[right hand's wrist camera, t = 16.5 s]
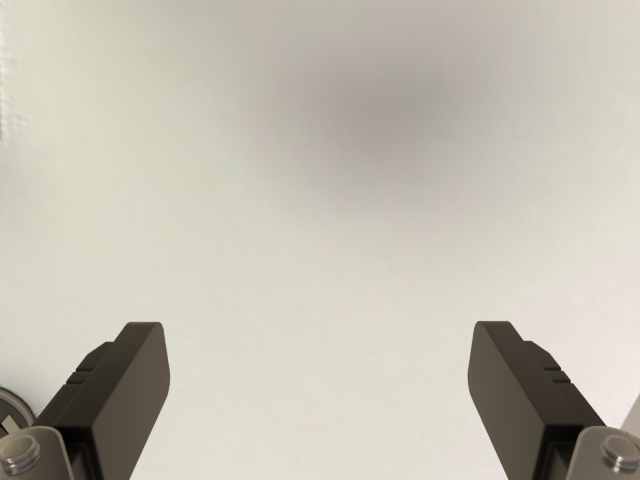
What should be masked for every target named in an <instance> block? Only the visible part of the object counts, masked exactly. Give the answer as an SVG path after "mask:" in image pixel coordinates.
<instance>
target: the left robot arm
mask: <svg viewBox="0 0 640 480" xmlns="http://www.w3.org/2000/svg"><path fill="white" fill-rule="evenodd" d="M33 423H34V418H33V416H32V414H31V412H30V410H29V409H28V408H27V407H26V405H25V404H24V403H23V402H22V401H20V400H19V399H18V398H17V397H15V396H14V395H12V394H11V393H9V392H7V391H5V390H2V389H0V439H1V438H3V437H5V436H6V435H8V434H11V433H13V432H15V431H18V430H21V429H24V428H28V427H31V425H32V424H33Z"/></svg>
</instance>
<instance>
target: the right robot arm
mask: <svg viewBox="0 0 640 480" xmlns="http://www.w3.org/2000/svg"><path fill="white" fill-rule="evenodd" d="M169 385H170V370H169V363H168V357H167V350H166V343H165V336H164V330H163V326H162V324H161V323H160V322H129V323H127V324H126V326H125V327H124V328H123V330H122V331H121V332H120V334H119V335H118V336H117V338H116V339H115V341H114V342H105V343H103V344H102V345H100V346H99V347H98V348H96V349H95V350H93V351H92V352H90V353H89V354H87V356H86V357H85V358H84V360H83V361H82V362H81V363H80V365H79V366H78V367H77V368H76V372H73V373H72V375H71V376H70V377H69V378H68V380H67V381H66V385H63V386H62V387H61V389H60V390H59V391H58V392H57V394H56V395H55V396H54V397H53V399H52V400H51V401H50V403H49V404H48V405H47V406H46V408H45V409H44V410H43V411H42V413H41V414H40V415H39V416H38V418H37V419H36V420H35V421H34V423H33V424H32V425H31V427H28V428H24V429H21V430H18V431H15V432H13V433H11V434H8V435H6V436H5V437H3V438H1V439H0V480H129V479H130V477H131V475H132V472H133V470H134V468H135V466H136V464H137V461H138V459H139V457H140V455H141V453H142V450H143V448H144V446H145V444H146V442H147V439H148V437H149V435H150V433H151V431H152V428H153V426H154V424H155V422H156V420H157V417H158V415H159V413H160V411H161V409H162V407H163V404H164V402H165V400H166V398H167V395H168V391H169ZM468 386H469V391H470V395H471V397H472V400H473V402H474V404H475V406H476V409H477V411H478V413H479V415H480V417H481V420H482V422H483V424H484V426H485V429H486V431H487V433H488V435H489V437H490V440H491V442H492V444H493V446H494V449H495V451H496V453H497V455H498V457H499V460H500V462H501V464H502V466H503V469H504V471H505V473H506V475H507V477H508V480H640V439H639V438H637V437H635V436H634V435H631V434H629V433H627V432H625V431H622V430H619V429H616V428H612V427H607V426H606V425H605V423H604V422H603V421H602V420H601V418H600V417H599V416H598V415H597V413H596V412H595V411H594V409H593V408H592V407H591V406H590V404H589V403H588V402H587V401H586V399H585V398H584V397H583V395H582V394H581V393H580V392H579V390H578V389H577V388H576V386H575V385H574V384H573V383H571V380H570V379H569V378H568V376H567V375H566V374H565V372H564V371H561V367H560V366H559V365H558V364H557V362H556V361H555V360H554V358H553V357H552V356H551V355H550V353H548V352H547V351H545V350H544V349H542V348H541V347H540V346H538V345H537V344H535V343H534V342H532V341H523V339H522V338H521V337H520V335H519V334H518V332H517V331H516V330H515V328H514V327H513V326H512V324H511V323H510V322H508V321H478V322H477V323H476V325H475V328H474V333H473V340H472V347H471V354H470V361H469V367H468Z"/></svg>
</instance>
